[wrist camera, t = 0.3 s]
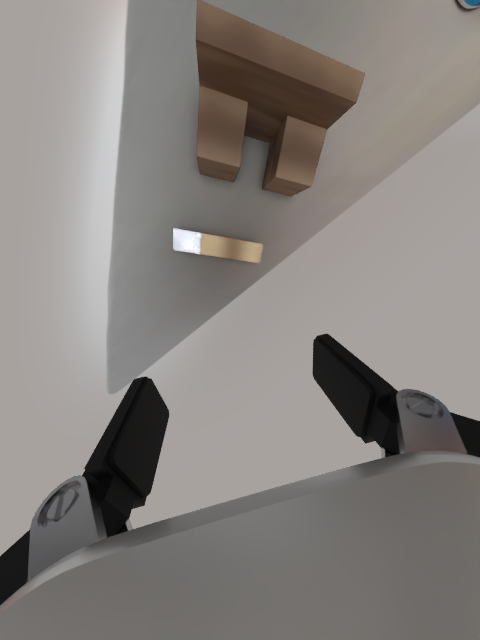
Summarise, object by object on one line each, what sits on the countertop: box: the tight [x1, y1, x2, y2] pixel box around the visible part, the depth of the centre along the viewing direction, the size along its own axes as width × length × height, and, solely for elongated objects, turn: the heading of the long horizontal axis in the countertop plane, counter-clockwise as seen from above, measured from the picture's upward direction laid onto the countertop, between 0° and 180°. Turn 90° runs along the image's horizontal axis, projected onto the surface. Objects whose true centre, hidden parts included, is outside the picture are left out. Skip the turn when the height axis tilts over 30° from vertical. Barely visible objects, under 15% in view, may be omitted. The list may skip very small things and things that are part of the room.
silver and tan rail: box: [173, 228, 264, 263], centre depth 30 cm, size 14×3×6 cm, turn 81°
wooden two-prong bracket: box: [196, 0, 365, 196], centre depth 22 cm, size 8×16×12 cm, turn 81°
